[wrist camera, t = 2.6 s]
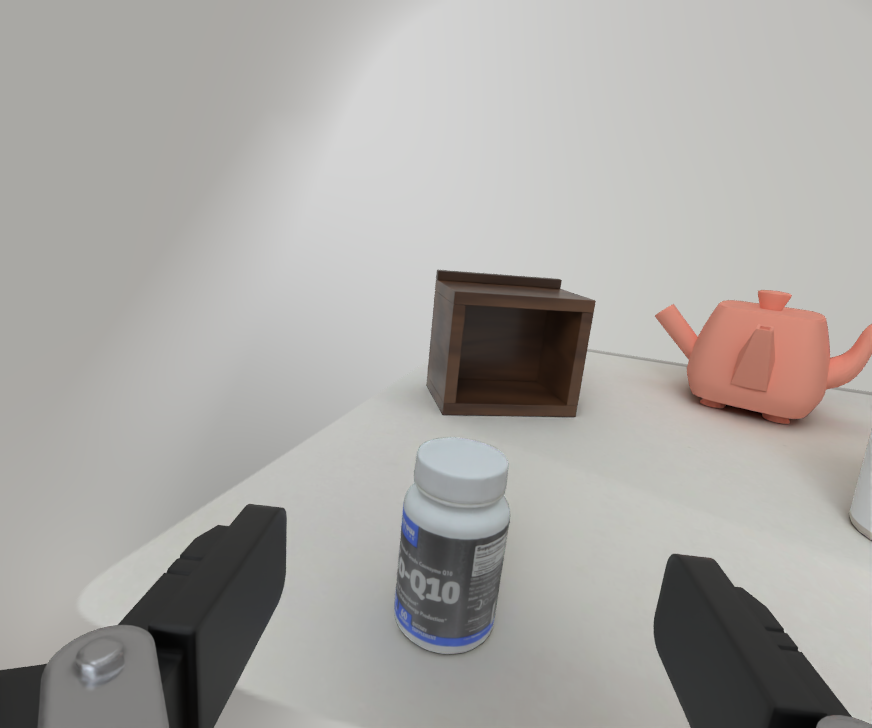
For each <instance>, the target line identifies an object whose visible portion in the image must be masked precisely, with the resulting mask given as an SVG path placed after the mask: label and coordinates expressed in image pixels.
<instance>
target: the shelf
mask: <svg viewBox="0 0 872 728" xmlns="http://www.w3.org/2000/svg"><path fill="white" fill-rule="evenodd" d="M560 287H561V280H560V279H551V278H538V277H525V276H512V275H498V274H484V273H472V272H458V271H446V270H437V276H436V287H435V290H436V291H435V297H434V308H433V319H432V330H431V341H430V352H429V363H428V374H427V375H428V376H427V387H428V389H429V391H430V393H431V395H432V396H433V398H434V400H435V402H436V404H437V405H438V407H439V409H440V411H441V413H442V414H443V415H496V416H557V417H575V416H576V411H577V405H578V399H579V394H580V388H581V382H582V376H583V370H584V365H585V359H586V353H587V347H588V341H589V335H590V330H591V324H592V318H593V312H594V307H595V300H592V299H589V298H586V297H583V296H580V295H577V294H574V293H571V292H568V291H565V290H562V289H560Z"/></svg>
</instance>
